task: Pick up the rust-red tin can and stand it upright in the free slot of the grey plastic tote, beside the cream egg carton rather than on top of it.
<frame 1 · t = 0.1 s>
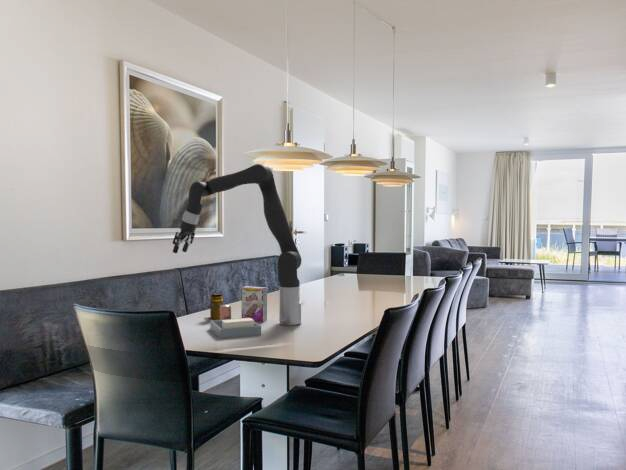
hand: (179, 252, 248), 31 cm above the table, tool tilted 20°, fingers open, 8 cm apart
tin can: (225, 325, 229), on the table
candy bar box: (254, 322, 236), on the table
tote: (235, 334, 213), on the table
condiment: (214, 319, 244), on the table
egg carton: (238, 334, 209), point 1 cm above the table, touching tote
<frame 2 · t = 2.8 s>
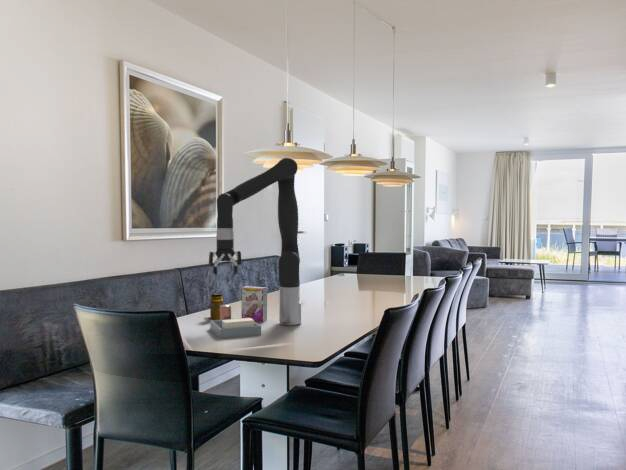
hand: (225, 274, 228), 23 cm above the table, tool pointing down, fingers open, 8 cm apart
nothing on the table moved.
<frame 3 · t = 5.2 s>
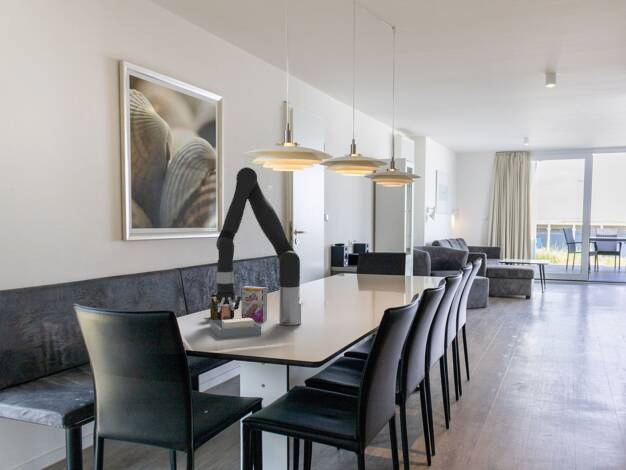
hand: (225, 319, 229), 3 cm above the table, tool pointing down, fingers closed on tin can, 5 cm apart
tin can: (225, 325, 229), on the table, touching gripper
everything else where it was.
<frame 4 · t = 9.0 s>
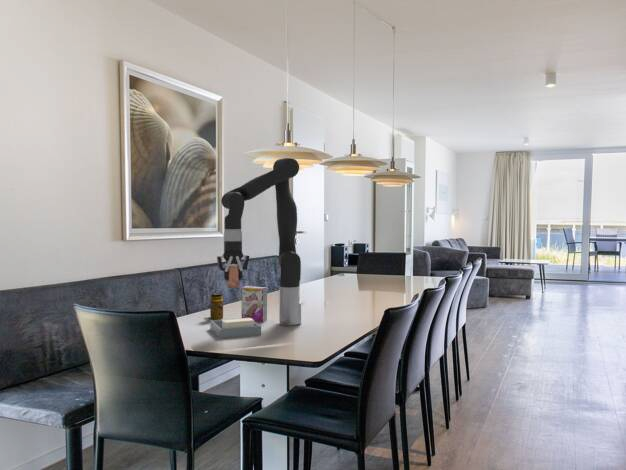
hand: (233, 280, 215), 22 cm above the table, tool pointing down, fingers closed on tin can, 5 cm apart
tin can: (233, 286, 215), point 19 cm above the table, touching gripper
everything else where it was.
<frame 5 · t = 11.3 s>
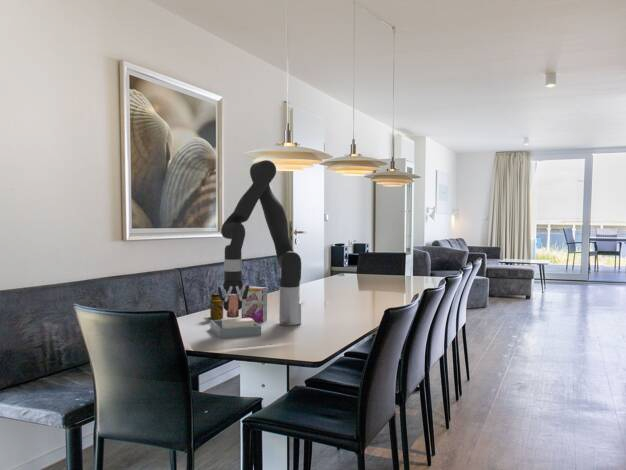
hand: (232, 309, 216), 10 cm above the table, tool pointing down, fingers closed on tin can, 5 cm apart
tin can: (232, 316, 216), point 7 cm above the table, touching gripper
everything else where it was.
when the fingers open (5 cm above the table, at t = 13.1 s): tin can drops 1 cm, resting on tote.
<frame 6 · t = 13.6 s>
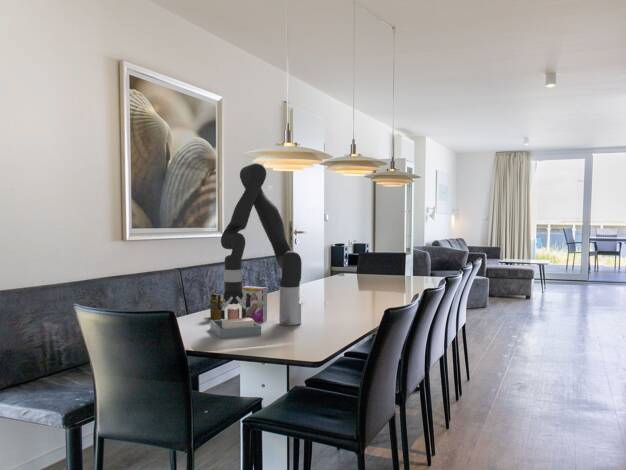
hand: (233, 318, 216), 6 cm above the table, tool pointing down, fingers open, 8 cm apart
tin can: (233, 330, 216), point 1 cm above the table, touching tote
everything else where it was.
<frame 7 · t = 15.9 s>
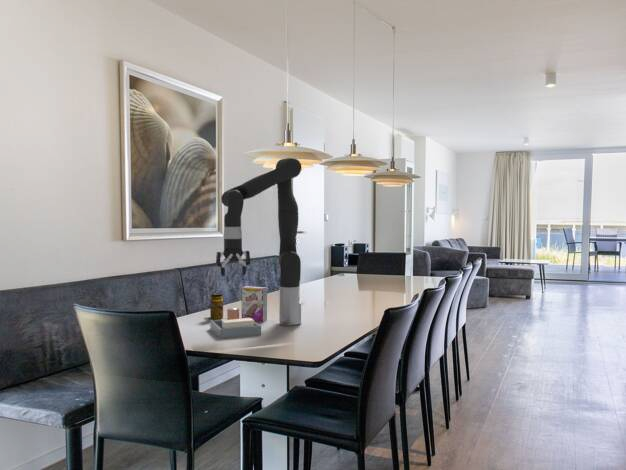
hand: (233, 275, 216), 24 cm above the table, tool pointing down, fingers open, 8 cm apart
nothing on the table moved.
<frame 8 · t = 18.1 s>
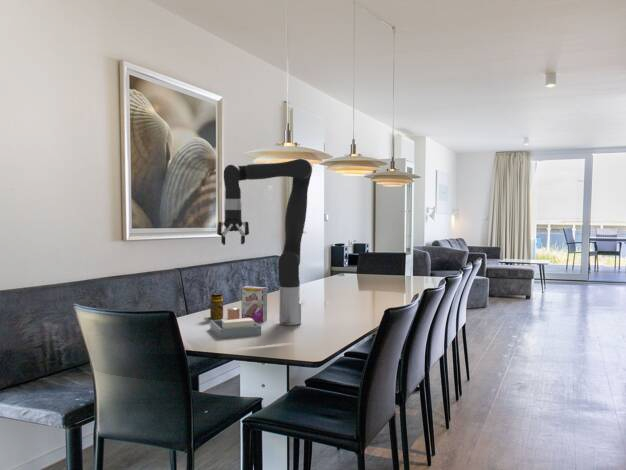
hand: (233, 244, 234), 36 cm above the table, tool pointing down, fingers open, 8 cm apart
nothing on the table moved.
at the end: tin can inside the target area on the tote (1.0 cm from its centre), point 1.0 cm above the tote's base; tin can tilted 1°; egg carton moved 0.0 cm from its start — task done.
